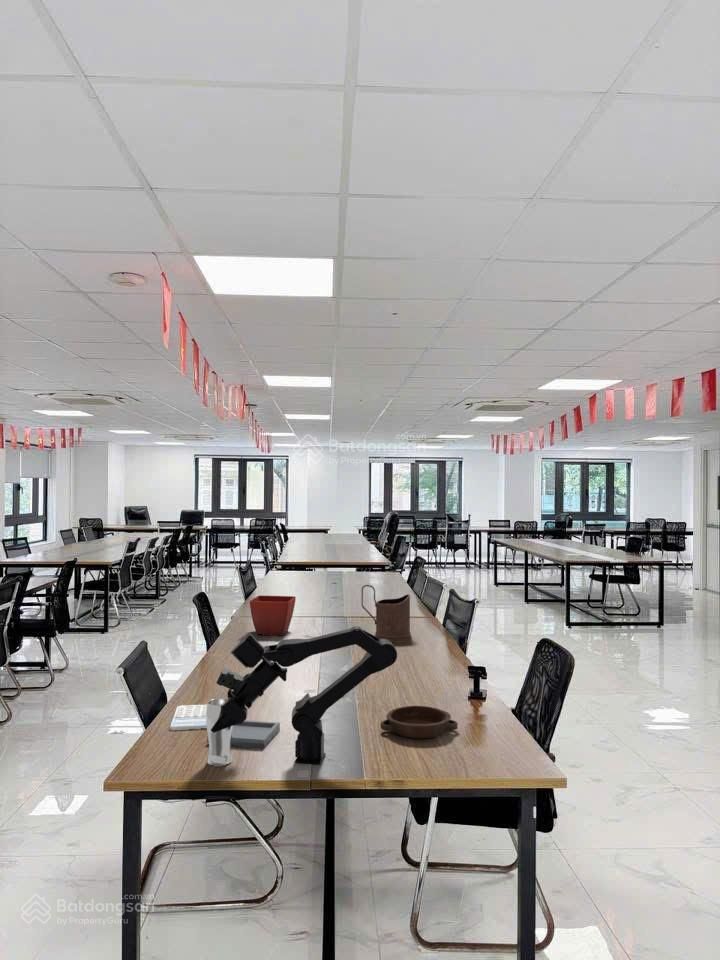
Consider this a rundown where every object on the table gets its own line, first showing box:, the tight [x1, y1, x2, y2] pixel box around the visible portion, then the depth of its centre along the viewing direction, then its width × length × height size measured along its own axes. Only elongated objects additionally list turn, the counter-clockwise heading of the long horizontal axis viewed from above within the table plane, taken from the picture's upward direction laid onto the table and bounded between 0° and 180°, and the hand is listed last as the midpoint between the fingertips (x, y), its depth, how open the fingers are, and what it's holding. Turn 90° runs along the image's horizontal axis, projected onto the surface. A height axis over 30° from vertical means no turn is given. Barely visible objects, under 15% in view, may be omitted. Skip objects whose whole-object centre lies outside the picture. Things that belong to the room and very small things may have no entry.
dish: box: [379, 705, 459, 739], centre depth 196 cm, size 18×22×5 cm
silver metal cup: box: [206, 697, 234, 767], centre depth 174 cm, size 7×7×15 cm
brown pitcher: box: [361, 584, 413, 643], centre depth 323 cm, size 18×24×25 cm
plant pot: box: [249, 595, 297, 636], centre depth 334 cm, size 19×19×17 cm
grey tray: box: [206, 719, 281, 749], centre depth 191 cm, size 16×14×2 cm
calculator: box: [169, 703, 207, 731], centre depth 207 cm, size 13×20×2 cm, turn 9°
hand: (214, 725), depth 174 cm, fingers open, 8 cm apart
